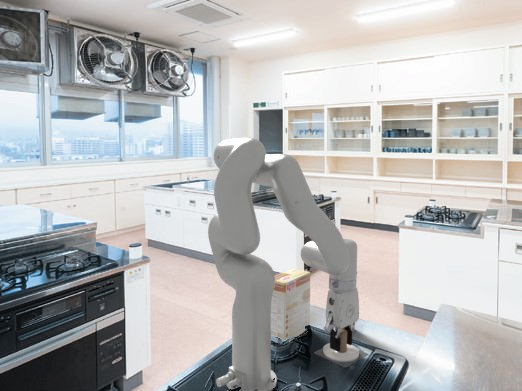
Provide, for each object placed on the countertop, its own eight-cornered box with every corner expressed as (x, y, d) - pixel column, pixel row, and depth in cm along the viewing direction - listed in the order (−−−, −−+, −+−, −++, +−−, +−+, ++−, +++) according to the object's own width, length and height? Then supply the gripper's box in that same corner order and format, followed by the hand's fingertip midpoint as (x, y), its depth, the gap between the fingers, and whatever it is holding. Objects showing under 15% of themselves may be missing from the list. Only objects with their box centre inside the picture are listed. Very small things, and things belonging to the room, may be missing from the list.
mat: (345, 369, 106) (345, 367, 106) (313, 354, 114) (313, 352, 114) (368, 355, 113) (368, 354, 113) (336, 342, 121) (336, 340, 121)
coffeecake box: (292, 325, 134) (293, 267, 132) (310, 330, 130) (311, 271, 128) (264, 340, 122) (265, 278, 120) (284, 347, 118) (284, 282, 116)
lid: (345, 366, 107) (345, 342, 106) (315, 352, 114) (316, 330, 113) (366, 354, 113) (366, 331, 113) (337, 342, 121) (337, 321, 120)
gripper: (334, 294, 103) (333, 361, 105) (371, 280, 115) (369, 341, 116) (312, 287, 109) (311, 351, 110) (349, 275, 120) (347, 333, 122)
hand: (341, 345), depth 113 cm, fingers open, 4 cm apart
